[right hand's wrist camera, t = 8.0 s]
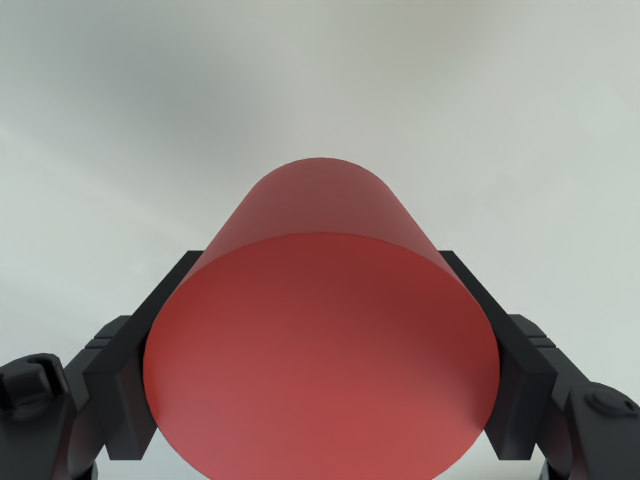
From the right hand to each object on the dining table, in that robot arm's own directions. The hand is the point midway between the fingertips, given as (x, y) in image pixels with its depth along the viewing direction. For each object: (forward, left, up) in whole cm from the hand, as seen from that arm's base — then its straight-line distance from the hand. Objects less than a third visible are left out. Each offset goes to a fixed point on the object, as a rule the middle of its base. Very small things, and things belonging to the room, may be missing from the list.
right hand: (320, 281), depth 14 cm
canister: (0, 0, -4) cm, 4 cm away
